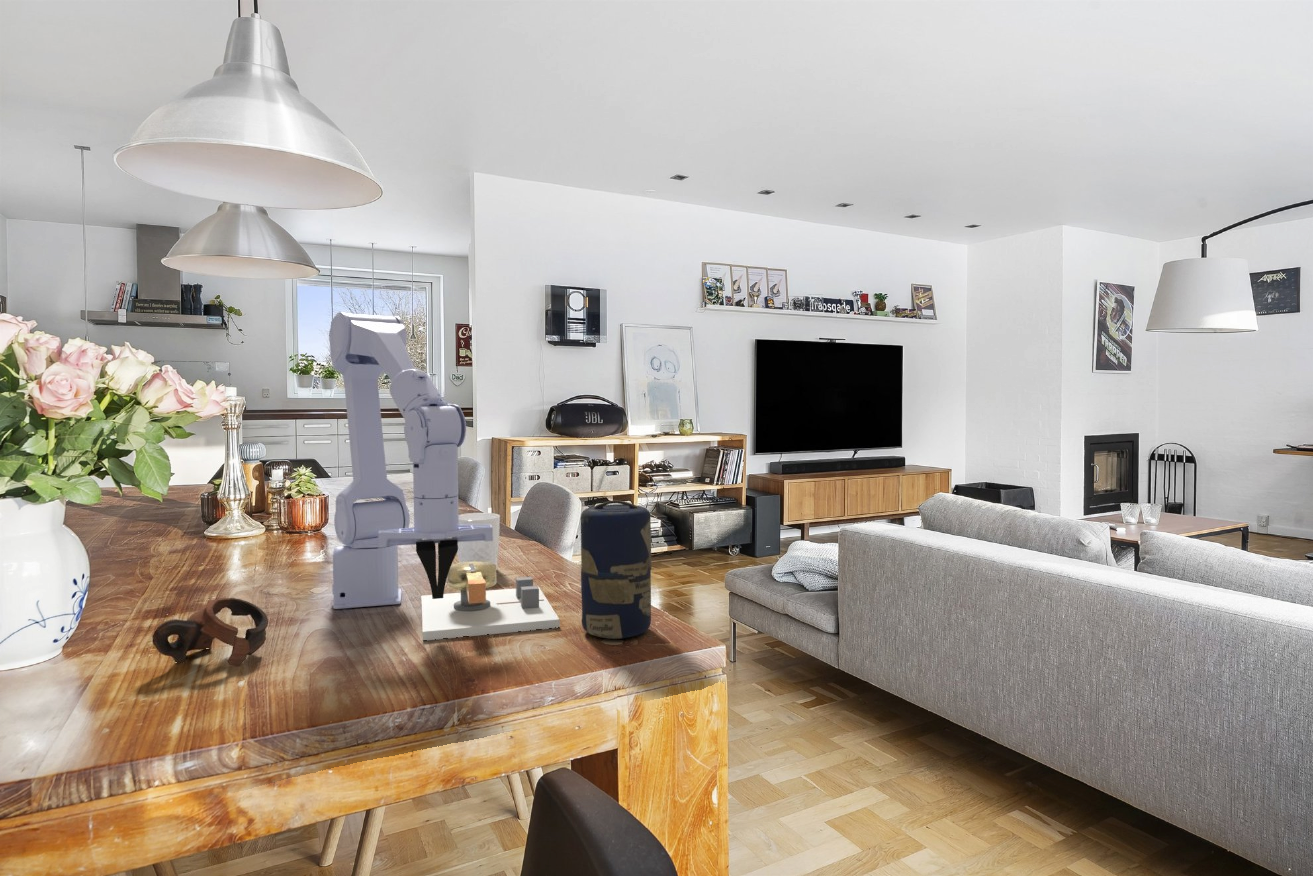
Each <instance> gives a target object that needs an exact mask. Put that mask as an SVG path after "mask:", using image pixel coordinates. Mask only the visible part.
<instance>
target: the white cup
mask: <svg viewBox="0 0 1313 876" xmlns="http://www.w3.org/2000/svg"><path fill="white" fill-rule="evenodd" d="M500 519H501V515H500V514H499V513H498V514H497V513H493V512H470V513H468V512H467V513H462V514H459V525H492V527H493V541H467V542H458V551H457V554H456V556H457V559H458V563H463V562H490V563H493V564H495V565H496V571H497V570H498V556H499V545H500Z"/></svg>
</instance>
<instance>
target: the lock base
mask: <svg viewBox="0 0 1313 876" xmlns="http://www.w3.org/2000/svg"><path fill="white" fill-rule="evenodd" d="M420 597H421V600H420V601H421V623H422V624H421V625H422V627H421V630H422V631H421V632H422V641H423V640H427V641H436V640H444V639H443V638H448V639H455V638H456V637H458V638H464V637H463V636H469V637H475V636H476V637H479V636H488V635H487V634H489V635H498V634H506V633H507V634H509V633H518V631H521V632H529V631H530V630H531V631H537V630H536V629H542V630H550V629H549V628H552V629H559V628H558V627H561V626H560V618H559V616H558V614H557V613H556V612H555V610H554V609H553V608H554V607H552V605H551V603H550V602H549V600H548V599H547V597H546V596H545V594H544V592H543V590H541V588H540V586H538V585H534V578H533V577H532V576H524V577H515V588H504V589H492V590H491V589H490V590H489V589H488V590H486V602H483V603H471V604H469V602H468V595H467V591H466V590H460V592H456V593H455V592H453V593H451V592H450V593H444V595H443V598H439V599H432V594H430V595H429V594H428V595H421V596H420ZM555 627H556V628H555ZM435 639H436V640H435ZM456 639H457V638H456Z"/></svg>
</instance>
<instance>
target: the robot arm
mask: <svg viewBox="0 0 1313 876" xmlns="http://www.w3.org/2000/svg"><path fill="white" fill-rule="evenodd" d="M329 327H330V328H329V332H328V333H329V334H328V336H329V337H328V339H329V350H330V359H331V362H332V369H333V370H334V371H336V372H337V373H340V374H341V375H342V378H343V385H344V393H345V403H346V404H345V405H346V417H347V426H348V427H347V428H348V439H349V448H350V449H349V450H350V459H351V469H352V481H351V482H350V483H349V484H348V485H347V486H346V487H345V488H343V490H341V491H340V492H339V493H338V494H337V495H336V497H335V513H334V517H333V518H334V519H333V520H334V522H333V523H334V532H335V534H336V538H337V539H338V540H339V542H340V543H341V544H343V545H336V546H334V548H333V552H332V553H333V555H332V581H333V582H332V588H331V589H332V591H331V592H332V595H333V609H335V610H341V609H352V608H363V607H376V606H378V607H379V606H390V605H400V604H401V603H402V588H400V587H399V557H398V556H399V553H398V552H399V547H398V546H410V545H411V546H413V545H415V552H416V554H417V557H418V559H419V560H420V562H421V564H422V566H423V569H424V571H425V573H426V575H427V579H428V582H429V586H430V590H431V595H432V599H439V598H443V595H444V594H445V593H444V592H445V586H446V584H447V576H448V573H449V570H450V567H451V565H453V563H454V559H455V558H456V556H457V551H458V542H467V541H493V527H492V525H459V515H460V514H459V509H460V508H459V454H458V453H459V452H458V451H459V447H461V446H462V445H463V444H464V442H465V440H466V435H467V422H466V421H467V420H466V417H465V415H464V411H462V408H461V406H460V405H458V404H457V403H453V404H452V403H451V401H445V400H444V399H443V397H442V395H441V393H440V392H439V390H438V389H437V387H436V385H435V384H434V382H433V381H432V378H430V376H429V375H428V373H427V372H425V370H421V369H417V368H416V367H415V364H414V363H413V361H412V358H411V356H410V354H409V352H408V350H407V347H406V345H407V341H408V334H407V327H406V324H405V322H404V321H403V319H402V318H401V317H399V316H397V315H393V316H384V315H371V314H358V313H346V312H344V311H339V312H337V313H336V314H335V316H333V318H332V320H331V324H330V326H329ZM384 374H386V376H387V377H388V378H389V379H390V381H391V382H390V383H389V384H390V385H389V394H390V396H391V398H392V399H393V401H394V403H395V405H396V407H397V409H398V410H399V413H400V414H401V416H402V418H403V420H404V426H403V432H404V433H403V434H404V438H405V439H404V440H405V441H406V445H407V448H408V449H407V450H408V458H409V462H410V463H412V473H413V474H412V475H413V477H412V478H413V527H410V522H411V521H410V519H411V516H410V512H409V508H408V505H407V502H406V498H405V493H404V490H403V489H402V488H401V487H399V486H398V485H397V484H395V483H394V482H392V481H390V480H389V479H388V474H387V463H386V457H385V456H386V455H385V445H384V442H385V441H384V434H383V433H384V432H383V423H382V414H381V413H382V412H381V411H382V410H381V402H380V391H379V379H380V376H382V375H384ZM369 499H382V500H372V501H362V502H356V501H358V500H359V501H360V500H369ZM436 544H437V546H436ZM436 547H437V549H436ZM436 550H437V551H436ZM437 561H438V563H437ZM437 564H438V565H437ZM437 566H438V567H437ZM437 568H438V569H437ZM437 571H438V572H437Z"/></svg>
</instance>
